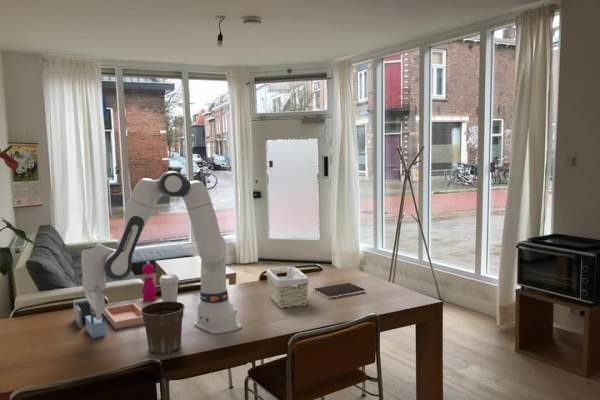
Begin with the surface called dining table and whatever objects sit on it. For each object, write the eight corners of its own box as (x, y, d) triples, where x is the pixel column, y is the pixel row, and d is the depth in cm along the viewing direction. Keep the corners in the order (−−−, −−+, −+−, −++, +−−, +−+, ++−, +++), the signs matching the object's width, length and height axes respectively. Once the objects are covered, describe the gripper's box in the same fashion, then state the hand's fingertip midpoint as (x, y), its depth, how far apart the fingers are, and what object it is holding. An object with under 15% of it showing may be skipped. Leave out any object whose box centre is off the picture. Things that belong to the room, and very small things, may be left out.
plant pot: (144, 360, 176) (142, 317, 175) (140, 344, 191) (138, 304, 189) (189, 352, 183) (188, 311, 181) (182, 337, 197) (180, 299, 196)
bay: (101, 324, 213) (100, 304, 212) (79, 328, 208) (78, 308, 207) (94, 315, 225) (93, 296, 224) (74, 319, 220) (73, 300, 219)
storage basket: (310, 306, 236) (309, 277, 235) (278, 310, 231) (277, 280, 230) (295, 293, 259) (294, 266, 257) (265, 296, 254) (265, 268, 252)
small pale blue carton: (105, 335, 200) (104, 313, 199) (92, 338, 198) (91, 315, 197) (98, 327, 210) (97, 306, 209) (85, 329, 207) (84, 308, 206)
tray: (148, 323, 214) (147, 315, 214) (115, 329, 206) (115, 321, 206) (134, 309, 232) (134, 302, 232) (103, 315, 225) (103, 308, 224)
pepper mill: (152, 301, 245) (150, 263, 243) (139, 300, 246) (137, 262, 244) (159, 297, 252) (157, 259, 250) (146, 296, 253) (145, 259, 251)
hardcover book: (365, 293, 258) (365, 289, 258) (328, 300, 247) (328, 295, 247) (348, 286, 272) (348, 282, 272) (313, 292, 261) (313, 288, 261)
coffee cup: (168, 310, 231) (167, 279, 230) (155, 306, 237) (154, 276, 235) (183, 305, 239) (183, 275, 237) (171, 301, 245) (170, 272, 243)
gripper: (108, 288, 190) (109, 322, 192) (97, 277, 207) (98, 308, 209) (91, 290, 187) (93, 325, 188) (81, 279, 204) (83, 311, 205)
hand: (96, 316), depth 199 cm, fingers open, 8 cm apart
